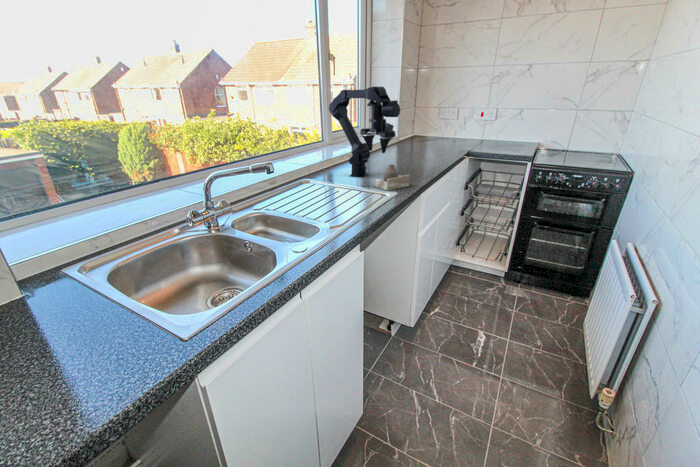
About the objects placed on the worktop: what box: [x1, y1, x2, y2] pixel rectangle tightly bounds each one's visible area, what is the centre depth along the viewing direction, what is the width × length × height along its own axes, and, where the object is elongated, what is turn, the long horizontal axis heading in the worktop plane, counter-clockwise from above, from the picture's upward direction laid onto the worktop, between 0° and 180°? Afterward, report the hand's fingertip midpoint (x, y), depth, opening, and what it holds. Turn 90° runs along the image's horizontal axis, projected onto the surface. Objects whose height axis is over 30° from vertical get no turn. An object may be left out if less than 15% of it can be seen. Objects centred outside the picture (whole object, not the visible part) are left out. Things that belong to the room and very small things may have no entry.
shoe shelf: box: [374, 174, 411, 192], centre depth 147 cm, size 8×13×5 cm, turn 126°
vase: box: [383, 164, 400, 182], centre depth 147 cm, size 7×7×9 cm
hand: (377, 151), depth 155 cm, fingers open, 9 cm apart
